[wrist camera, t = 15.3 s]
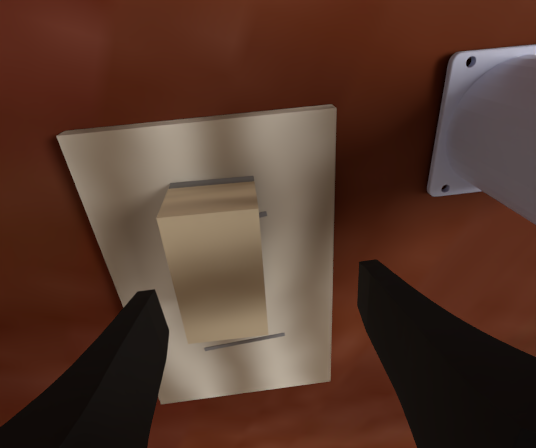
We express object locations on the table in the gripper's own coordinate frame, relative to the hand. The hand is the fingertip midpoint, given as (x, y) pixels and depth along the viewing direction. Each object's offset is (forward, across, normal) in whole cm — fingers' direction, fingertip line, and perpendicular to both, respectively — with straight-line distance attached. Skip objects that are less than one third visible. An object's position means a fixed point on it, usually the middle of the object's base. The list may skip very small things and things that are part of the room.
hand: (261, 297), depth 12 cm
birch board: (+9, +2, +6) cm, 12 cm away
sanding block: (+8, +2, +3) cm, 9 cm away
